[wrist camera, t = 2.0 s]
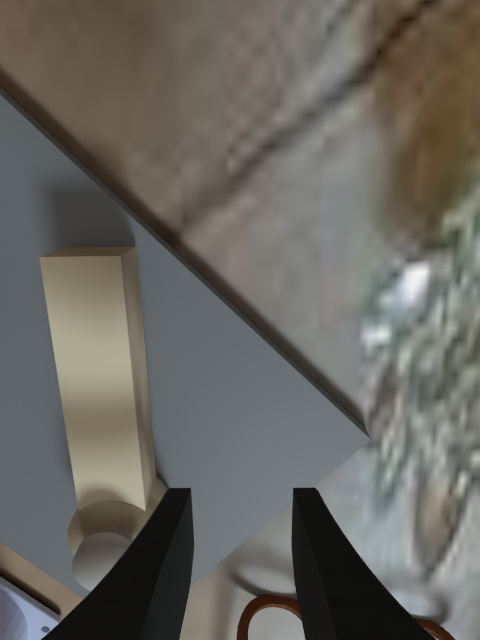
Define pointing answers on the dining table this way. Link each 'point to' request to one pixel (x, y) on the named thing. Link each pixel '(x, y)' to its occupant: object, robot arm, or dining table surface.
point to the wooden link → (102, 400)
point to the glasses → (293, 607)
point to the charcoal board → (162, 370)
